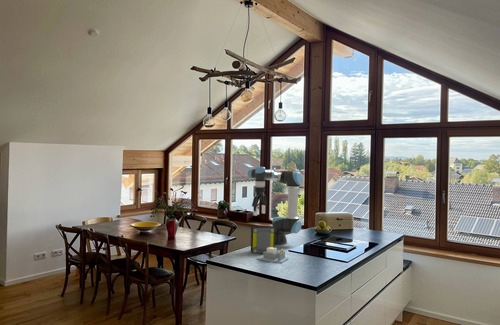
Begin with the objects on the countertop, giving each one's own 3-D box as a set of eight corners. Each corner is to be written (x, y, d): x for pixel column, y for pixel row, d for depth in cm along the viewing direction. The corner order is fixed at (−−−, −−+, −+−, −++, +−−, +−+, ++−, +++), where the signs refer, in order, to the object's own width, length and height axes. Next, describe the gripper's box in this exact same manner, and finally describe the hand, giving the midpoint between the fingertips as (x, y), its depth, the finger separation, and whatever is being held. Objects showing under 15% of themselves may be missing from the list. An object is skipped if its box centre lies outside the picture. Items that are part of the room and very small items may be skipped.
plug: (269, 256, 276) (269, 246, 276) (276, 257, 273) (276, 247, 273) (266, 257, 272) (266, 247, 272) (273, 258, 269) (274, 248, 269)
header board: (264, 255, 282) (264, 244, 282) (288, 259, 273) (288, 248, 273) (257, 259, 272) (257, 247, 272) (281, 263, 262) (282, 251, 262)
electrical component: (252, 253, 288) (253, 228, 288) (250, 250, 298) (250, 226, 298) (274, 253, 291) (274, 228, 291) (271, 250, 301) (271, 225, 301)
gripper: (263, 185, 295) (262, 212, 295) (247, 187, 273) (247, 215, 273) (271, 186, 291) (270, 213, 291) (256, 188, 270) (256, 216, 270)
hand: (259, 214), depth 282 cm, fingers open, 13 cm apart
